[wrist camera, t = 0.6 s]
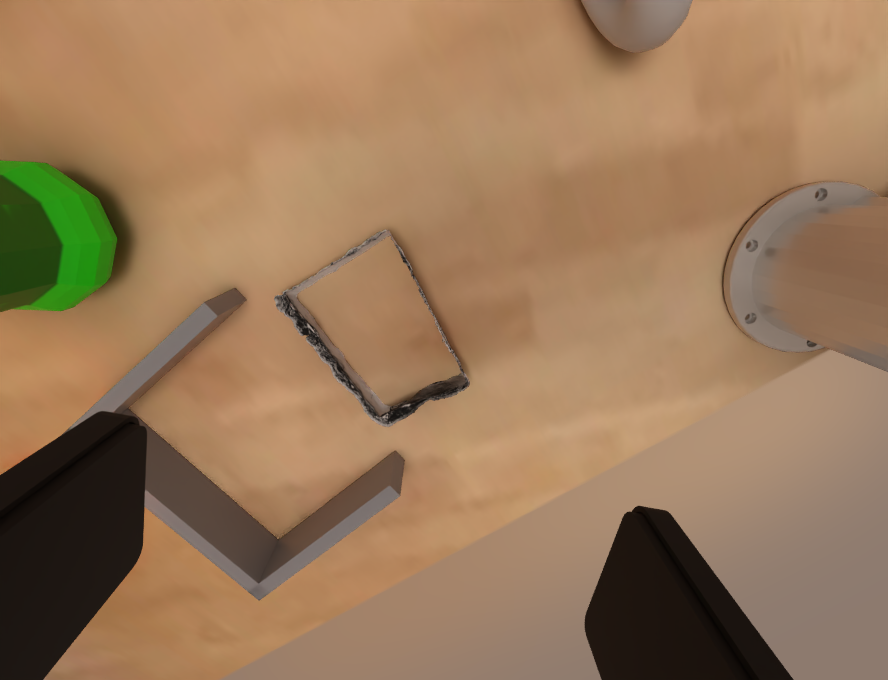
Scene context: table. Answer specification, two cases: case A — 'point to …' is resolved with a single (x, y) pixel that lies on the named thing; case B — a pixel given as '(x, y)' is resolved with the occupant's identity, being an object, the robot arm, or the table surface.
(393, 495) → the tray
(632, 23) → the donut
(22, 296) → the plastic bottle
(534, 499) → the table surface
